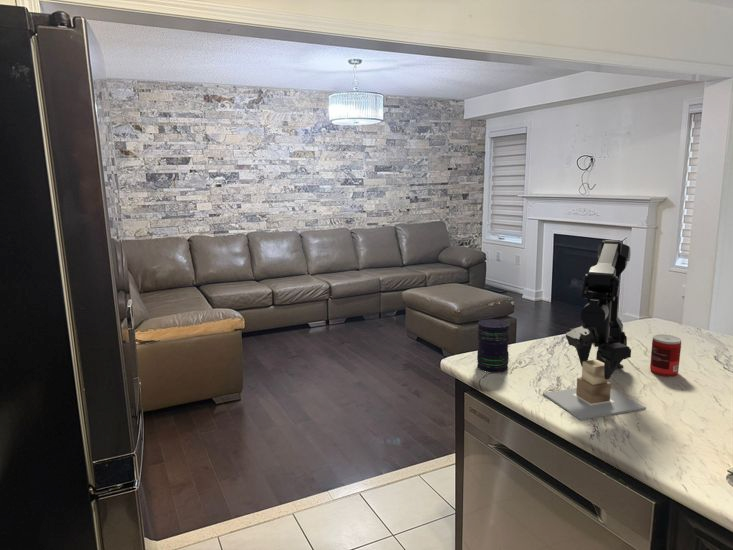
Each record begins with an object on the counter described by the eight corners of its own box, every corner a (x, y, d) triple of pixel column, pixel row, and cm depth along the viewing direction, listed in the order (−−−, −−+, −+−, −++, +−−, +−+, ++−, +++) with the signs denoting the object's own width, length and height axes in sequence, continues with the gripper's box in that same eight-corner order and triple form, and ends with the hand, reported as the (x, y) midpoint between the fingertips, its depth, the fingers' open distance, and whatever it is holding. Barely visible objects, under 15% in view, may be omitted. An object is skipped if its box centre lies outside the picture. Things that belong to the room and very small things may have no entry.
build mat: (602, 385, 148) (602, 384, 148) (645, 409, 133) (645, 407, 133) (542, 394, 143) (542, 392, 143) (580, 419, 128) (580, 418, 128)
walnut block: (594, 391, 143) (595, 375, 142) (609, 400, 137) (611, 383, 136) (576, 394, 141) (577, 377, 140) (590, 403, 135) (592, 386, 134)
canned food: (674, 368, 160) (678, 335, 157) (681, 378, 152) (684, 343, 150) (647, 366, 162) (650, 333, 160) (652, 375, 155) (655, 341, 153)
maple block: (595, 376, 141) (596, 359, 140) (607, 382, 136) (608, 365, 135) (581, 378, 139) (582, 361, 138) (593, 384, 135) (594, 367, 134)
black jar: (470, 366, 165) (471, 322, 162) (490, 359, 171) (491, 316, 168) (495, 375, 157) (496, 329, 154) (514, 368, 163) (516, 323, 160)
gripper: (550, 311, 141) (548, 364, 144) (597, 330, 124) (593, 390, 127) (584, 307, 144) (581, 359, 147) (635, 325, 126) (630, 384, 129)
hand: (594, 372), depth 137 cm, fingers open, 9 cm apart
